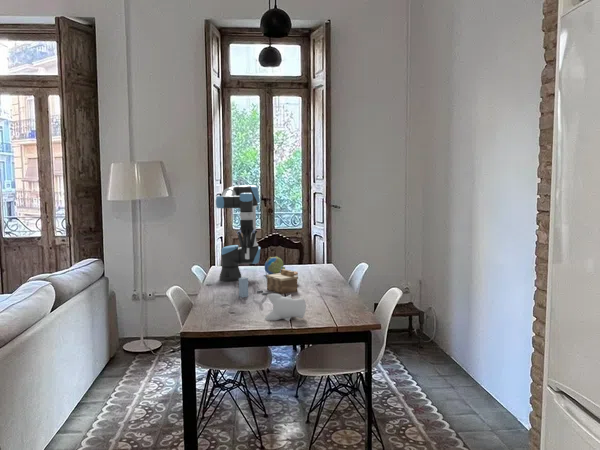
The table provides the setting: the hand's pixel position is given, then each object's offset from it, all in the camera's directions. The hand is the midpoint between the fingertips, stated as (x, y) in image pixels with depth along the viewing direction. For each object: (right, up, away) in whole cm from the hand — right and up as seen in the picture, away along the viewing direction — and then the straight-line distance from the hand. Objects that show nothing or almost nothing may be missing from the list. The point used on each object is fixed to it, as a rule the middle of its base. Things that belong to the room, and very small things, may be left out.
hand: (247, 258), depth 317 cm
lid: (+20, -13, +15) cm, 28 cm away
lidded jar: (+25, -19, +36) cm, 47 cm away
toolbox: (+20, -21, +16) cm, 33 cm away
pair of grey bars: (+9, -21, +8) cm, 24 cm away
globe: (+14, -16, +68) cm, 72 cm away
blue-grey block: (-2, -22, 0) cm, 22 cm away
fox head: (+24, -27, -48) cm, 60 cm away
